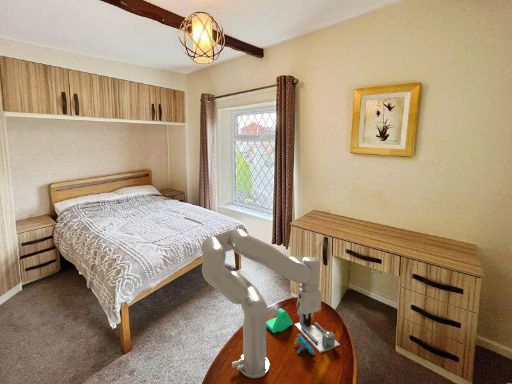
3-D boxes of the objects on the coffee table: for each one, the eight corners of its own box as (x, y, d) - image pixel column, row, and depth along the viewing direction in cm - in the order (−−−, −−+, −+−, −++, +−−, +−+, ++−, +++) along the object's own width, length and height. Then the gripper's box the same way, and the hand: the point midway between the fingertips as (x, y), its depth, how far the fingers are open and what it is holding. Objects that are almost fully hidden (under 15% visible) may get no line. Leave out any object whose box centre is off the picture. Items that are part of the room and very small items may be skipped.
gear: (319, 355, 114) (305, 343, 111) (310, 366, 113) (295, 354, 110) (307, 339, 124) (294, 327, 121) (298, 348, 124) (285, 337, 121)
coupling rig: (320, 352, 117) (320, 338, 116) (294, 325, 136) (294, 312, 135) (339, 345, 121) (340, 331, 120) (312, 320, 140) (312, 307, 139)
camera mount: (282, 319, 142) (283, 301, 140) (292, 326, 135) (292, 307, 134) (264, 326, 135) (264, 308, 134) (273, 335, 129) (274, 315, 127)
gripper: (300, 292, 108) (297, 334, 110) (329, 286, 114) (326, 326, 116) (290, 284, 115) (288, 323, 117) (318, 279, 121) (315, 317, 123)
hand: (307, 325), depth 117 cm, fingers closed
